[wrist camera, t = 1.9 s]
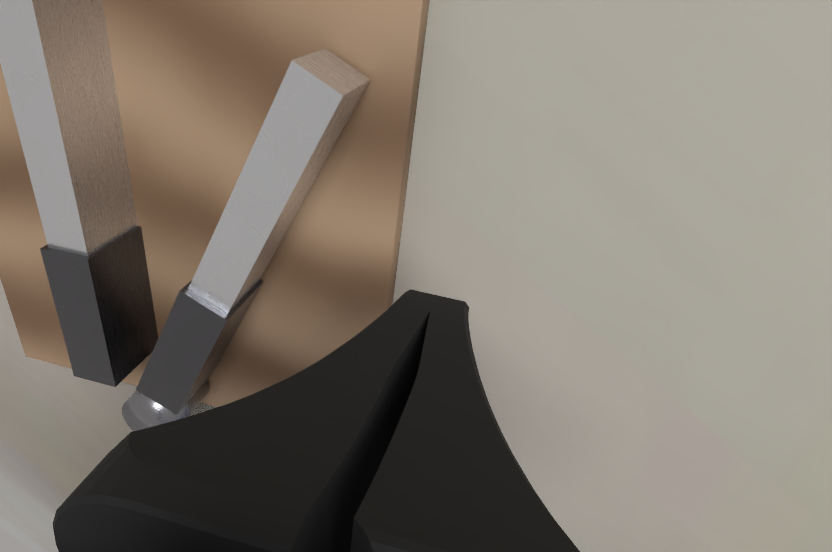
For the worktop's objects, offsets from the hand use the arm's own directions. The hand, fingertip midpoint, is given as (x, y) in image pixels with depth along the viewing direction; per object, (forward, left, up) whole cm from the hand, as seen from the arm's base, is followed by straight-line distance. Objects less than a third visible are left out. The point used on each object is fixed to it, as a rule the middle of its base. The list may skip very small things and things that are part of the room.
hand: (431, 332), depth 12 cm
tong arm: (-4, +8, -7) cm, 12 cm away
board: (-3, +12, -8) cm, 14 cm away
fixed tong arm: (-2, +14, -7) cm, 16 cm away
